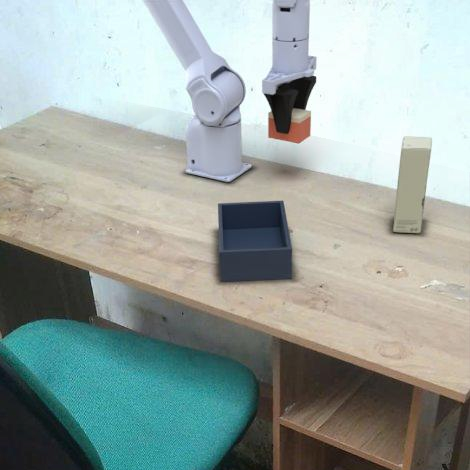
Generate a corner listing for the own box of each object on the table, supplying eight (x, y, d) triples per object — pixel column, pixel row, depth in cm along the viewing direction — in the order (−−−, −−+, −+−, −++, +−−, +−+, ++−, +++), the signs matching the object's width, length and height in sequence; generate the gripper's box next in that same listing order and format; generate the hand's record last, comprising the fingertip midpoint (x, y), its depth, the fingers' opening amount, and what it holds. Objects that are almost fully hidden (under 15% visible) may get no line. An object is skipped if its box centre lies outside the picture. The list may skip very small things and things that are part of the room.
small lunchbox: (268, 137, 135) (268, 112, 132) (279, 130, 137) (279, 105, 134) (299, 143, 132) (299, 118, 129) (310, 135, 135) (311, 110, 132)
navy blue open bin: (219, 231, 126) (217, 203, 123) (283, 228, 126) (283, 200, 123) (220, 282, 115) (219, 251, 111) (291, 278, 115) (291, 248, 111)
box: (420, 234, 123) (432, 149, 114) (391, 233, 124) (401, 148, 115) (421, 220, 127) (433, 135, 118) (393, 218, 127) (403, 134, 118)
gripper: (290, 52, 118) (289, 146, 128) (334, 28, 127) (330, 118, 136) (249, 46, 121) (251, 139, 131) (295, 23, 130) (294, 112, 139)
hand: (289, 128), depth 134 cm, fingers closed on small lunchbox, 4 cm apart
